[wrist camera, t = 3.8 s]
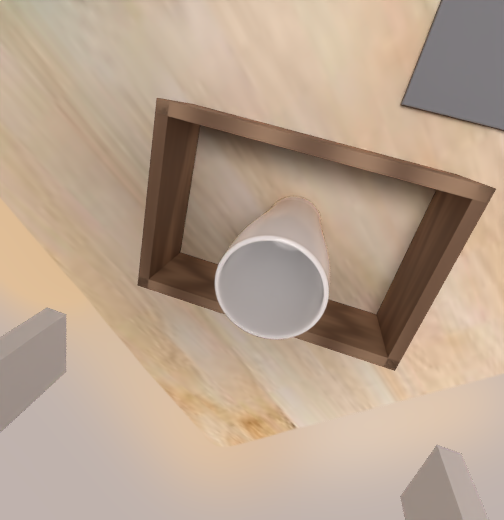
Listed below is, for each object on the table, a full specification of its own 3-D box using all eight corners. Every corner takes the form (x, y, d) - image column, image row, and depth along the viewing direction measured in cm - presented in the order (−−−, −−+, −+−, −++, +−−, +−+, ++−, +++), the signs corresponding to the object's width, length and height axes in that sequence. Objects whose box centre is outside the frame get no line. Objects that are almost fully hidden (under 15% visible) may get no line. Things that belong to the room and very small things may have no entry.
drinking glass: (338, 243, 32) (345, 329, 18) (273, 261, 34) (238, 351, 20) (316, 176, 30) (307, 218, 16) (250, 201, 32) (193, 254, 19)
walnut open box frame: (170, 257, 37) (137, 285, 30) (193, 104, 30) (156, 97, 24) (382, 325, 34) (394, 370, 28) (457, 174, 28) (496, 188, 21)
